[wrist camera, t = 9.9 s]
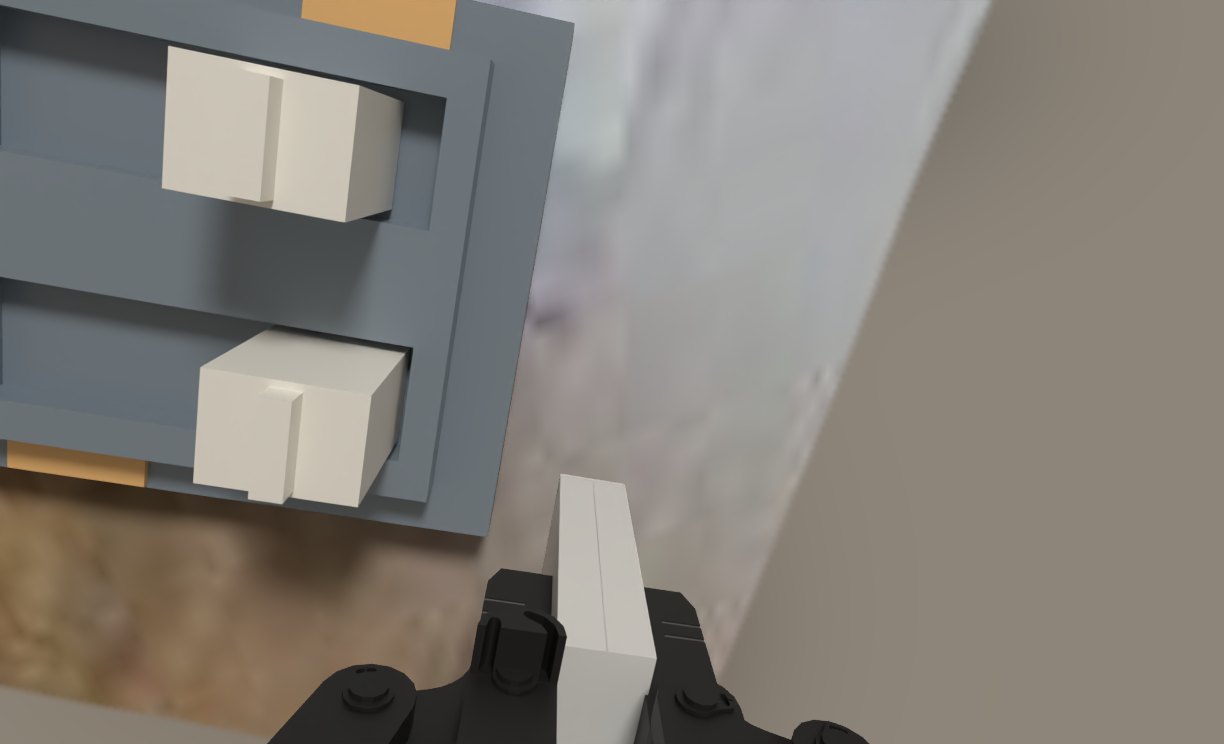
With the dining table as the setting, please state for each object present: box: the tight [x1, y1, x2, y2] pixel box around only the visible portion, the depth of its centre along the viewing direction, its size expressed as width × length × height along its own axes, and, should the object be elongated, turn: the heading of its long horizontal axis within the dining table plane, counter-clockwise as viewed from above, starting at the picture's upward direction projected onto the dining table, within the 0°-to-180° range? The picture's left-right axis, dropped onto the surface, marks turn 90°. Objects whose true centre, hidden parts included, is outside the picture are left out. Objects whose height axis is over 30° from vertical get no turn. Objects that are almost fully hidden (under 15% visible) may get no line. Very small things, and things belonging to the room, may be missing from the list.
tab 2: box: [193, 324, 411, 507], centre depth 21 cm, size 4×3×6 cm
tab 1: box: [162, 46, 405, 222], centre depth 19 cm, size 4×3×6 cm
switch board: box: [0, 0, 574, 537], centre depth 23 cm, size 18×16×3 cm
